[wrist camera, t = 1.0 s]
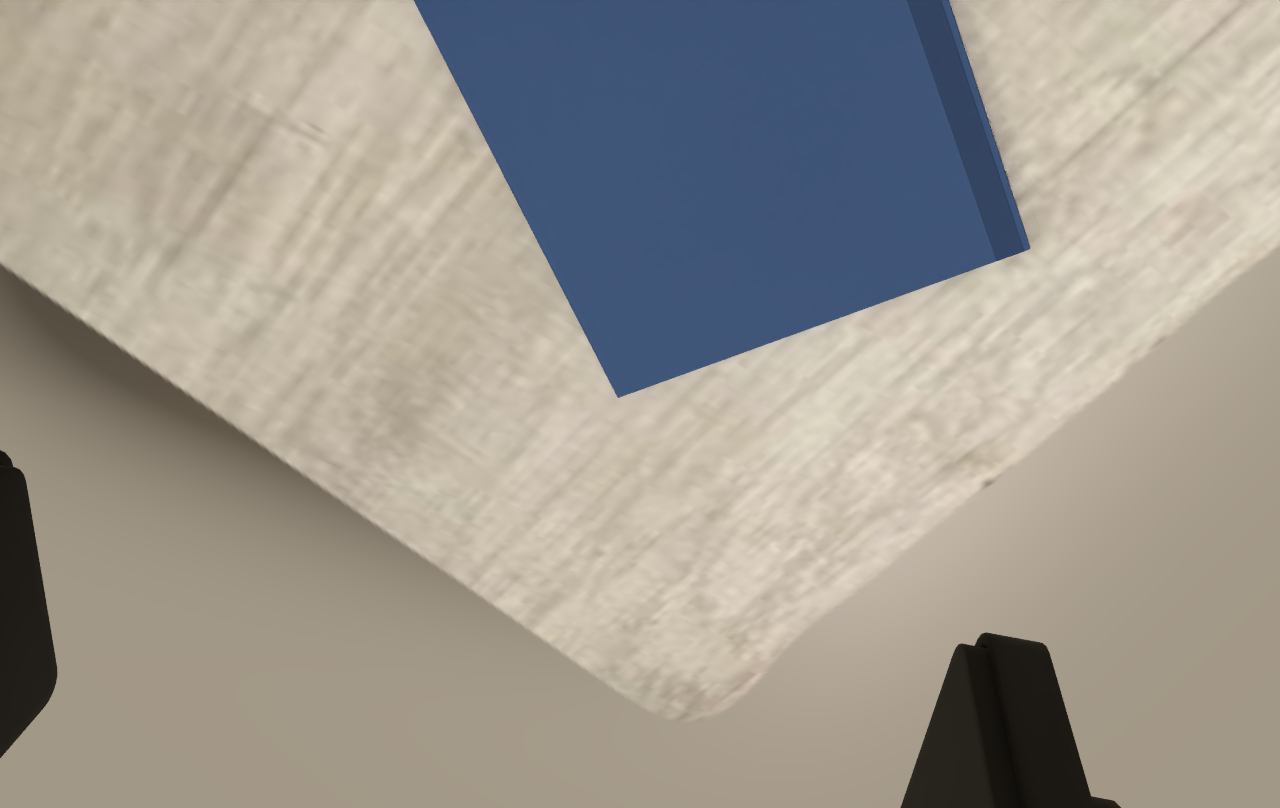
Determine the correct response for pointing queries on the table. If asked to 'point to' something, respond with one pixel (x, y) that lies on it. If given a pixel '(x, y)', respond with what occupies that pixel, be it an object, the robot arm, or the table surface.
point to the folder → (732, 161)
